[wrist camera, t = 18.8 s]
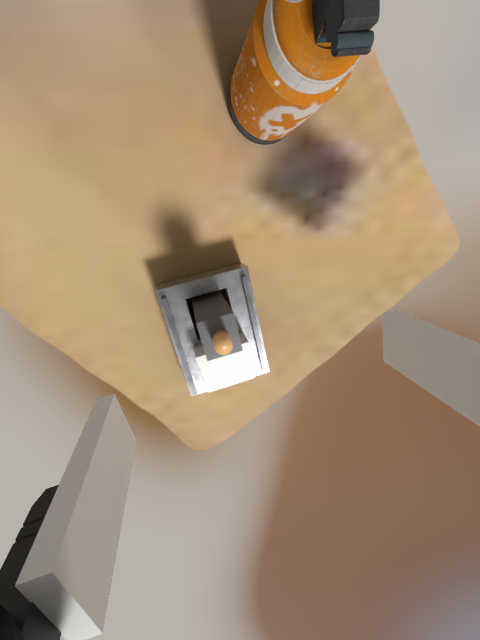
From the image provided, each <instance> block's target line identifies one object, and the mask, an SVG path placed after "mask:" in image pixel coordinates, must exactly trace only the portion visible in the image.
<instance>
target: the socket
mask: <svg viewBox="0 0 480 640" xmlns="http://www.w3.org/2000/svg"><path fill="white" fill-rule="evenodd" d="M221 289H224V292H225V296H226V300H227V303H228V305H229V306H230V308H231V309H232V311H233V313H234V316H235V320H236V325H237V329H238V333H239V334H240V333H244V335H245V336H246V338H247V339H248V341H249V344H250V348H251V352H250V353H249V355H250V360H251V364H252V368H253V372H254V376H257V375H260V374H263V373H267V372H270V371H269V366H268V361H267V357H266V352H265V347H264V343H263V338H262V333H261V329H260V324H259V319H258V315H257V310H256V305H255V300H254V296H253V291H252V286H251V282H250V277H249V272H248V268H247V266H245V265H244V264H242V263H238V264H234V265H230V266H227V267H223V268H219V269H215V270H211V271H208V272H204V273H200V274H196V275H192V276H189V277H185V278H181V279H177V280H173V281H169V282H166V283H162V284H158V285H157V286H156V289H155V293H156V296H157V299H158V302H159V305H160V308H161V311H162V314H163V316H164V319H165V322H166V325H167V328H168V331H169V334H170V337H171V340H172V342H173V345H174V348H175V351H176V354H177V357H178V360H179V363H180V366H181V369H182V371H183V374H184V377H185V380H186V383H187V386H188V389H189V392H190V395H191V396H194V395H197V394H200V393H203V392H207V388H206V385H205V382H204V378H203V375H202V372H201V369H200V368H199V367H198V364H197V361H196V358H195V351H194V347H196V346H200V345H202V341H201V338H200V335H199V332H198V330H196V328H195V325H194V322H193V319H192V315H191V312H190V309H189V305H188V302H187V299H188V298H191V297H195V296H199V295H202V294H206V293H210V292H213V291H217V290H221Z"/></svg>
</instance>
